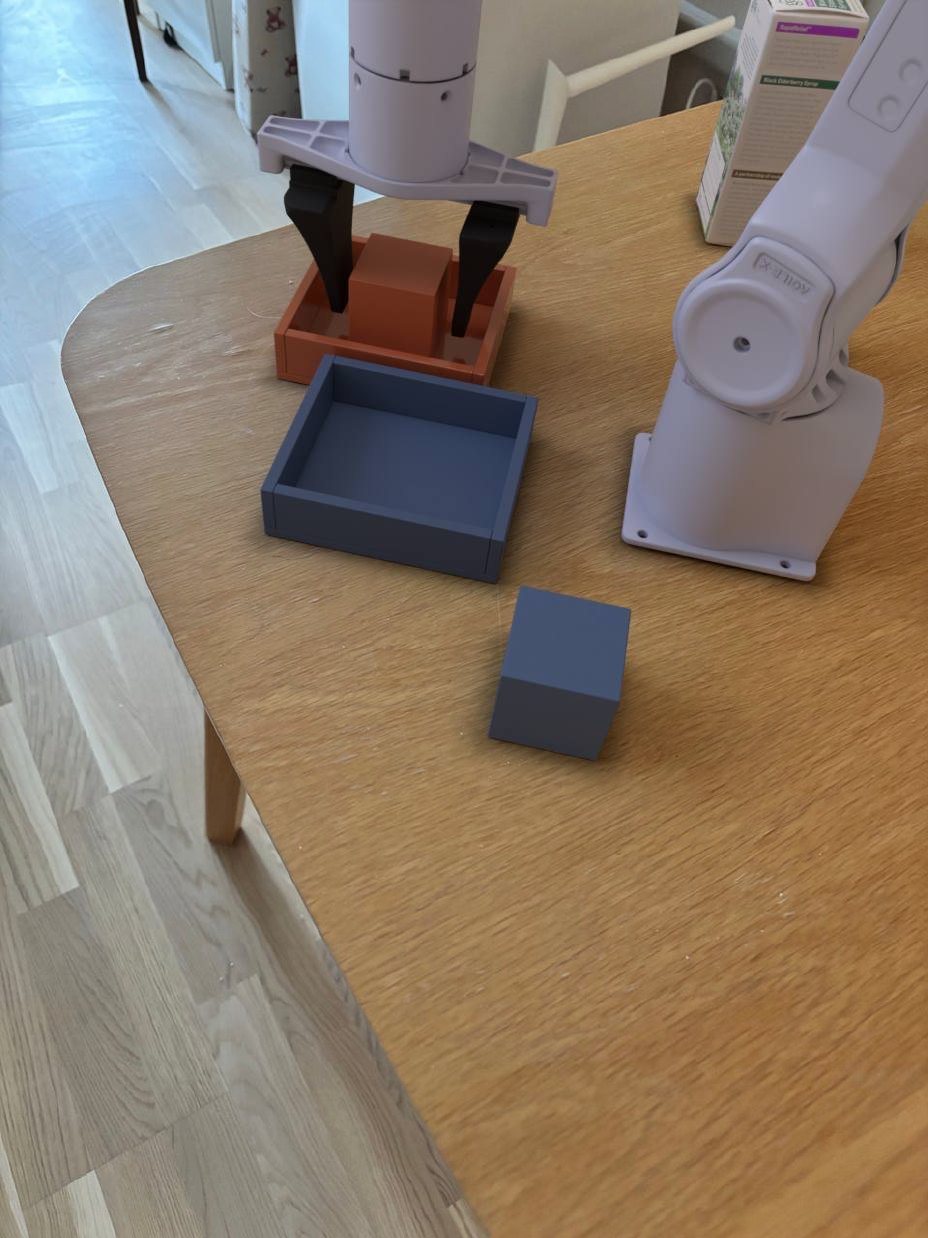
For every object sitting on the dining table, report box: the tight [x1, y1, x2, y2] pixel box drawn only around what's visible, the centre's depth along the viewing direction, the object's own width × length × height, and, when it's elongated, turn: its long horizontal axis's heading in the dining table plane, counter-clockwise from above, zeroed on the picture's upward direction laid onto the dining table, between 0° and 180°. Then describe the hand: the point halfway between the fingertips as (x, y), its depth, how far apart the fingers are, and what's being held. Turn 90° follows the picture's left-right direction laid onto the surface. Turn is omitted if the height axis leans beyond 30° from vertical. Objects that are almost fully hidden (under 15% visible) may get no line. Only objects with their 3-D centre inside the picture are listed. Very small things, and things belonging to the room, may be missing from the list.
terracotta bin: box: [273, 234, 518, 387], centre depth 55 cm, size 11×10×3 cm
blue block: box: [487, 585, 632, 761], centre depth 40 cm, size 5×5×5 cm
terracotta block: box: [349, 232, 454, 358], centre depth 54 cm, size 5×5×5 cm
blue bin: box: [259, 354, 540, 585], centre depth 48 cm, size 11×10×3 cm
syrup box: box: [694, 0, 871, 247], centre depth 61 cm, size 6×6×14 cm
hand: (400, 314), depth 54 cm, fingers open, 6 cm apart
